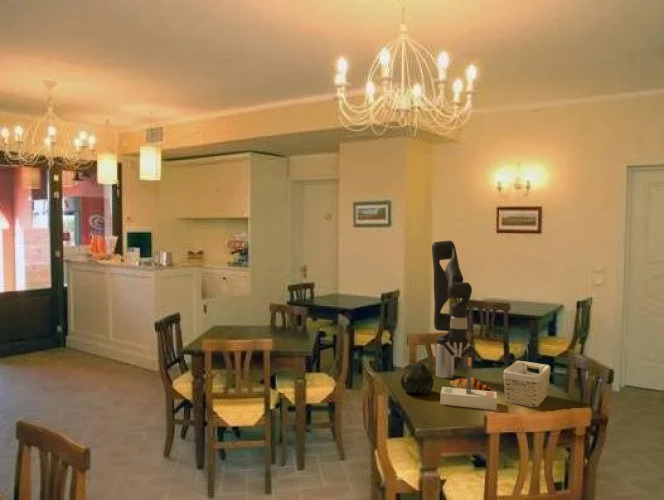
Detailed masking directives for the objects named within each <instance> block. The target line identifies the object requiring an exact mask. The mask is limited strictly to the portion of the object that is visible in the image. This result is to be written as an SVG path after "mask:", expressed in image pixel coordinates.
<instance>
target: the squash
mask: <svg viewBox="0 0 664 500" xmlns="http://www.w3.org/2000/svg"><path fill="white" fill-rule="evenodd" d="M400 384H401V388H402V389H403V390H404V391H405V392H407V393H408V394H419V395H426V394H428V393H430V392H431V390H432V389H433V387H434V378H433V374H432V372H431V371H430V369H429V368H428V367H427V365H425V363H417V364H415V365H413V366H410V367H408V368H407V369H406V370H404V372H403V373H402V375H401V378H400Z"/></svg>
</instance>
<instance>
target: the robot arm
mask: <svg viewBox="0 0 664 500" xmlns="http://www.w3.org/2000/svg"><path fill="white" fill-rule="evenodd" d="M431 252H432V253H431V255H432V264H433V265H432V266H433V267H432V268H433V298H434V300H433V301H434V311H433V312H434V313H433V314H434V316H433V325H434V329H435V330H436V331H440V332H441V331H442V332H447V333H446V334H445V335H441V336H438V337H437V338H436V344H435V345H436V347H435V348H436V349H435V353H436V354H435V376H436V377H437V378H441V379H452V378H454V370H455V369H454V367H455V366H459V367H460V365H461V364H462V357H463V358H464V357H466V355H468V354H469V352H470V351H471V350H472V349H473V344H471V343H469V340H468V308H469V307H468V306H469V304H470V303H469V301H470V299H471V296H472V292H473V287H472V285H471V284H470V282H464V276H463V274H462V272H461V268H460V265H459V259H458V255H457V250H456V245H455V243H454V242H453V241H452V240H441V241H434V242H433V243H432V246H431ZM446 260H449V262H448V263H447V265H446V267H445V269H443V266H442V265H441V263H440V261H446ZM450 298H452V299H461V300H460V301H458V302H454V303H452V304H451V307H450V313H448V312H444V313H443V312H442V310H443V307H444V306H445V305H446V303H447V302H448V301H449V299H450ZM465 347H466V349H465ZM464 349H465V351H463V350H464ZM454 365H455V366H454Z"/></svg>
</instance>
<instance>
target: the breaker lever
mask: <svg viewBox="0 0 664 500" xmlns="http://www.w3.org/2000/svg"><path fill="white" fill-rule="evenodd" d="M466 375H467V377H466V379H467V389H471V377H472V357H467V373H466Z"/></svg>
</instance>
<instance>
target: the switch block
mask: <svg viewBox="0 0 664 500" xmlns="http://www.w3.org/2000/svg"><path fill="white" fill-rule="evenodd" d="M497 393H498V391H492V390H491V391H481V390H471V389H460V388H454V387H448V386H442V387H441V391H440V395H439V396H440V398H439V399H440V400H439V402H440V403H439V404H440V405H442V406H443V405H444V406H445V405H446V406H452V407H453V406H455V407H463V408H473V409H483V410H493V411H497V410H498V409H497V407H498V406H497V404H498V397H497V396H498V394H497Z"/></svg>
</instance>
